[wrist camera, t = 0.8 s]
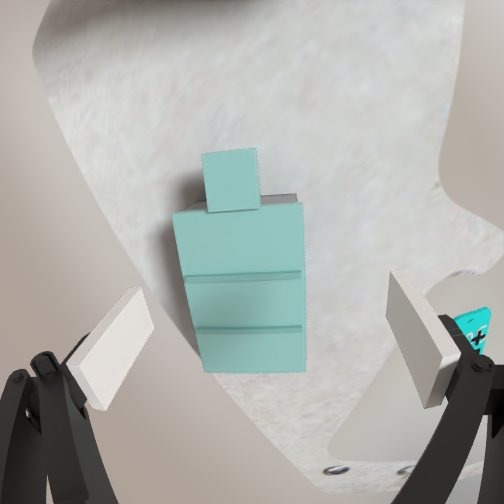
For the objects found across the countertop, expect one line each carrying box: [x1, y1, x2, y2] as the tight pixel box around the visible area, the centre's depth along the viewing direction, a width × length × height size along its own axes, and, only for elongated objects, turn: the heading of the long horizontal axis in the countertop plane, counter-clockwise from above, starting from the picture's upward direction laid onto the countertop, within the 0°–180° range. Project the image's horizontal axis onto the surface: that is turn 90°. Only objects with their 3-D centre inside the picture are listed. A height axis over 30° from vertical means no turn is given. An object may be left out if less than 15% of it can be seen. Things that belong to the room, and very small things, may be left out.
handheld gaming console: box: [453, 307, 491, 355], centre depth 37 cm, size 8×1×15 cm
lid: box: [171, 148, 306, 373], centre depth 29 cm, size 24×12×2 cm, turn 5°
